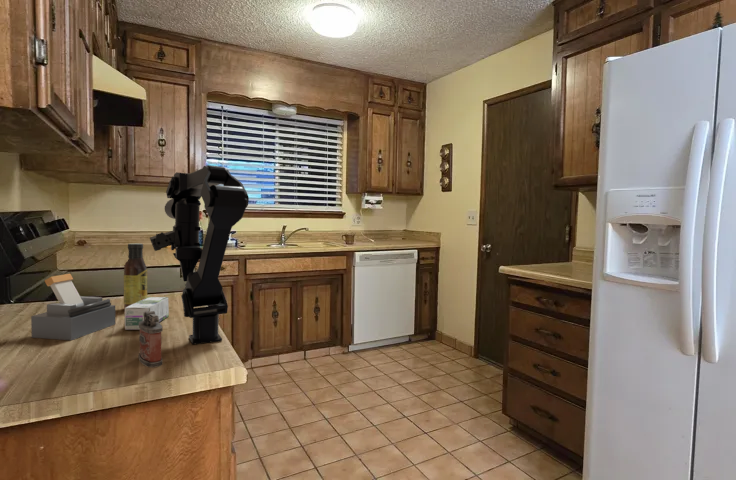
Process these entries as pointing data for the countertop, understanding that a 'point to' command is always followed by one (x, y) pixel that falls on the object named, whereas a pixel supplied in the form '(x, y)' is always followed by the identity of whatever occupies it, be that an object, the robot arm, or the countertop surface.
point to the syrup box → (137, 310)
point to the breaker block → (73, 319)
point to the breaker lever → (64, 289)
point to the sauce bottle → (135, 276)
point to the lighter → (150, 340)
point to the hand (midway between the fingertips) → (185, 281)
